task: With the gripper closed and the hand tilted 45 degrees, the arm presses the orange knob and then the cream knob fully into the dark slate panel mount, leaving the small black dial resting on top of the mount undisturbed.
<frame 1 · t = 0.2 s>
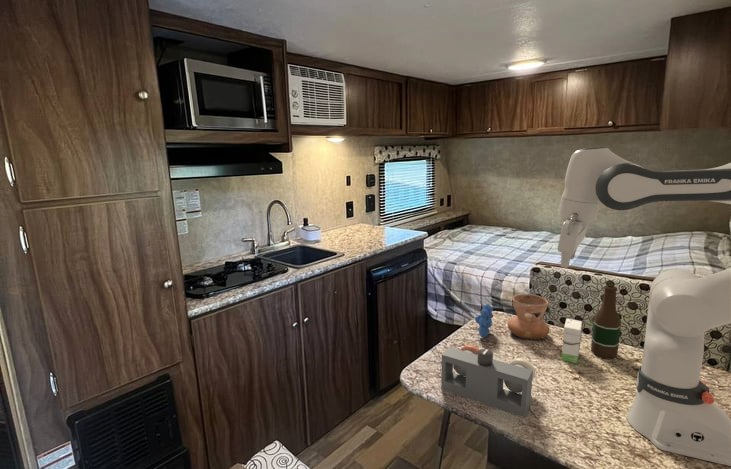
hand: (567, 262, 103), 39 cm above the table, tool pointing down, fingers open, 8 cm apart
beer bottle: (603, 354, 132), on the table
grapes: (482, 335, 148), on the table
pot dial: (485, 362, 108), point 11 cm above the table, touching mount
ink box: (570, 356, 131), on the table
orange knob: (467, 361, 118), point 6 cm above the table, slide at 0.0 cm
ceramic jug: (527, 334, 148), on the table
mount: (483, 397, 110), on the table
cream knob: (518, 376, 110), point 6 cm above the table, slide at 0.0 cm
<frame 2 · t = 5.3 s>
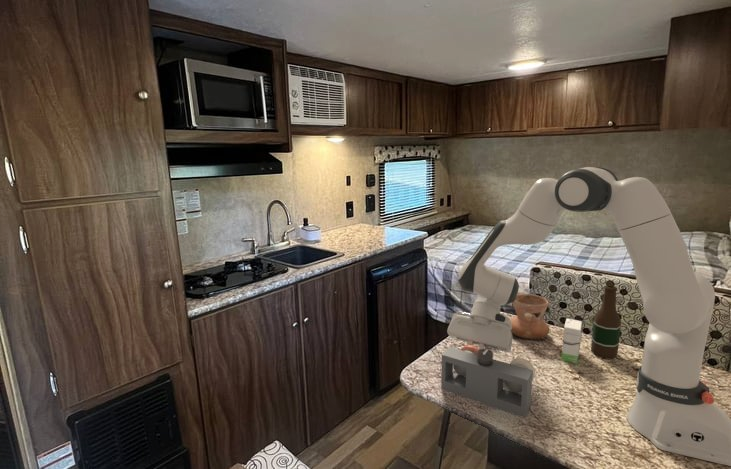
hand: (472, 356, 122), 5 cm above the table, tool tilted 45°, fingers closed, pressing on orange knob
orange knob: (467, 361, 118), point 6 cm above the table, slide at 0.1 cm, touching gripper
everything else where it was.
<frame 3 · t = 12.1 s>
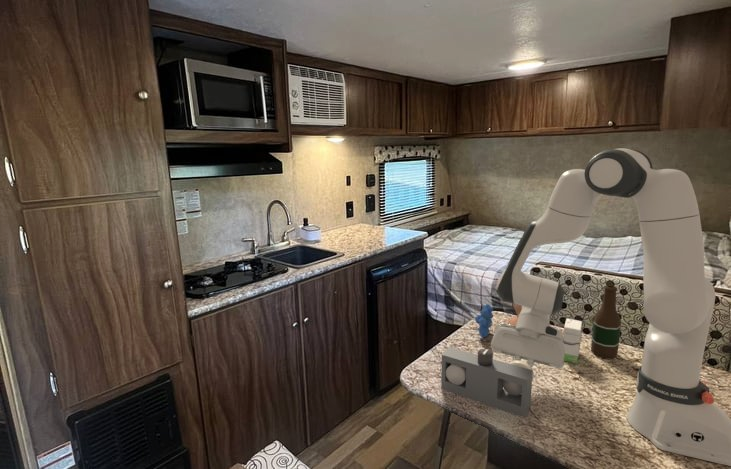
hand: (521, 373, 112), 5 cm above the table, tool tilted 45°, fingers closed, pressing on cream knob
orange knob: (460, 369, 114), point 6 cm above the table, slide at 5.3 cm
cream knob: (516, 378, 108), point 6 cm above the table, slide at 1.6 cm, touching gripper
everything else where it was.
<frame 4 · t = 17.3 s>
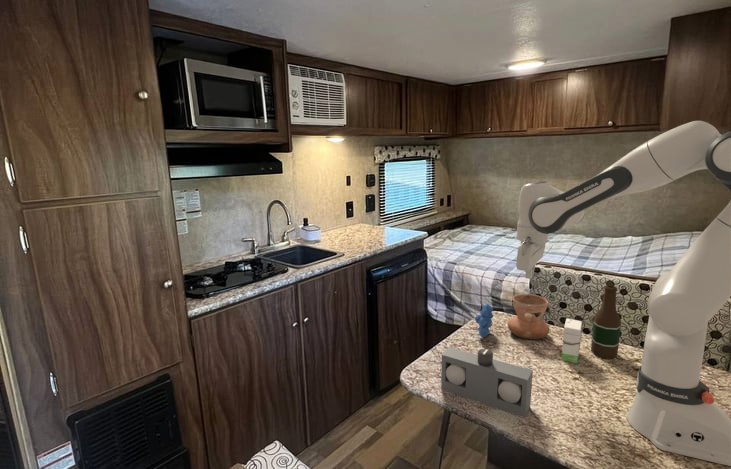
hand: (529, 277, 123), 29 cm above the table, tool pointing down, fingers closed
cream knob: (513, 385, 105), point 6 cm above the table, slide at 5.3 cm
everything else where it was.
at the end: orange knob slide at 5.3 cm; cream knob slide at 5.3 cm; pot dial moved 0.0 cm from its start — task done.
